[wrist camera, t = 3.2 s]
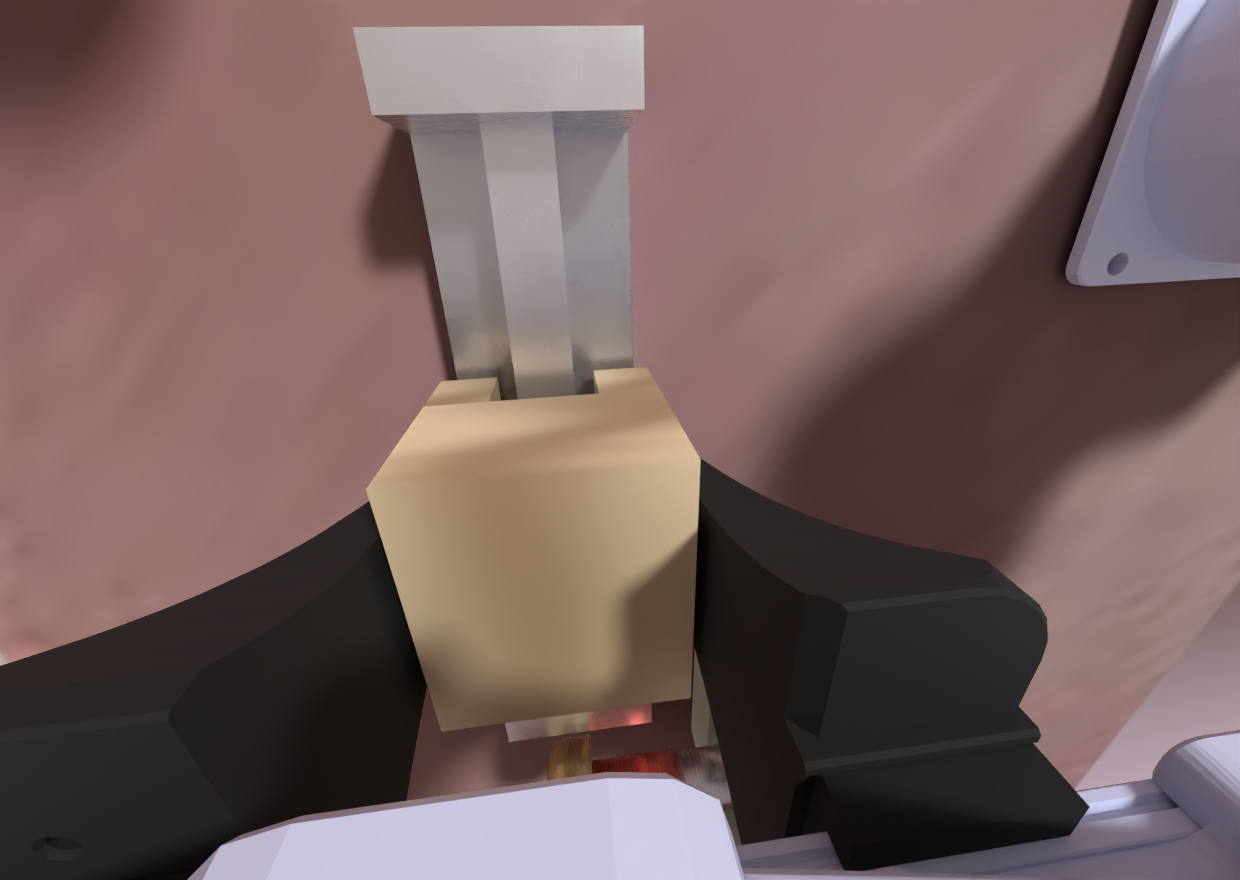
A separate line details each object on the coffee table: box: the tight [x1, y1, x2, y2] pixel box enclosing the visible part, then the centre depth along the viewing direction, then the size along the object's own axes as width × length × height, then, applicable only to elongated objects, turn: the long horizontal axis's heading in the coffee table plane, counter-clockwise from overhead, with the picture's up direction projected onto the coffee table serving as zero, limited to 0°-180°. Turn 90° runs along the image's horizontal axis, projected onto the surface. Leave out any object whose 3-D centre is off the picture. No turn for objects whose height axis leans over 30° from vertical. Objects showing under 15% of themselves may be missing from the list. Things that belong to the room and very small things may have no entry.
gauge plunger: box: [547, 735, 734, 811], centre depth 14 cm, size 7×3×3 cm, turn 92°
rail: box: [353, 26, 652, 742], centre depth 11 cm, size 4×16×3 cm, turn 2°
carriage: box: [366, 367, 701, 732], centre depth 10 cm, size 4×5×4 cm
